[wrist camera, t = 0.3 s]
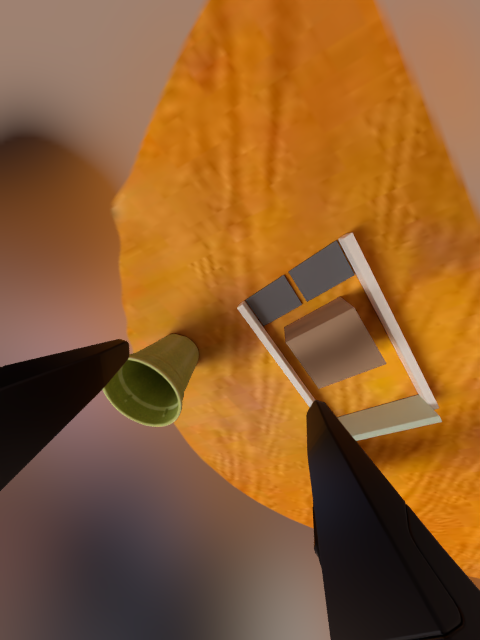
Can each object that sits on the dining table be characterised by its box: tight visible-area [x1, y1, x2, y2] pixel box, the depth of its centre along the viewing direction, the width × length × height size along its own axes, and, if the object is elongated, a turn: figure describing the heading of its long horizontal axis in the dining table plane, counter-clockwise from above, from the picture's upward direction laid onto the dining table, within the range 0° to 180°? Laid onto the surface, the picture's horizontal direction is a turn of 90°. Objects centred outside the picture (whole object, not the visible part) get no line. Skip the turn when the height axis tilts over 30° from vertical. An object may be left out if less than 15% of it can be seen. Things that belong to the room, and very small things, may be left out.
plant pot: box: [103, 334, 199, 427], centre depth 22 cm, size 9×9×9 cm
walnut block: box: [284, 297, 386, 389], centre depth 19 cm, size 7×7×4 cm
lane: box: [237, 233, 442, 441], centre depth 20 cm, size 23×13×3 cm, turn 36°
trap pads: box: [246, 241, 354, 326], centre depth 19 cm, size 4×11×1 cm, turn 126°
